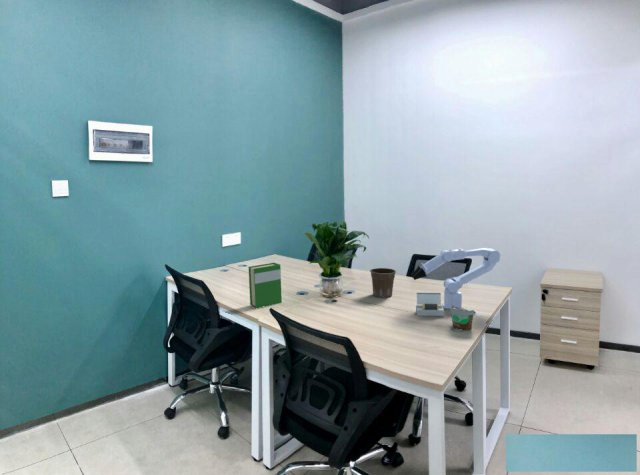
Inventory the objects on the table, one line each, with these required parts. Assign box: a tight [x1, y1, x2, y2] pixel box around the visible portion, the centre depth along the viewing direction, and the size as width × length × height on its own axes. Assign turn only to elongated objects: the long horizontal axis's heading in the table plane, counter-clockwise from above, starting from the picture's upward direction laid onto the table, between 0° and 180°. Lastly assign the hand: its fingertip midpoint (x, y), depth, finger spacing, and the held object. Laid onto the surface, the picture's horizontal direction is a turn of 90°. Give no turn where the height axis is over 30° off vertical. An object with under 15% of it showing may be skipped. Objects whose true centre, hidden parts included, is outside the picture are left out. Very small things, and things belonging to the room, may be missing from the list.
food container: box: [449, 305, 475, 331], centre depth 203 cm, size 12×6×10 cm, turn 40°
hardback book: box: [248, 262, 282, 309], centre depth 248 cm, size 18×7×24 cm, turn 127°
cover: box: [416, 292, 442, 306], centre depth 230 cm, size 13×7×1 cm
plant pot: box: [369, 267, 397, 298], centre depth 262 cm, size 16×16×16 cm
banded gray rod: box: [423, 304, 440, 310], centre depth 222 cm, size 8×3×3 cm, turn 83°
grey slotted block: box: [415, 304, 445, 317], centre depth 226 cm, size 14×8×4 cm, turn 83°
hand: (412, 277), depth 235 cm, fingers open, 7 cm apart
